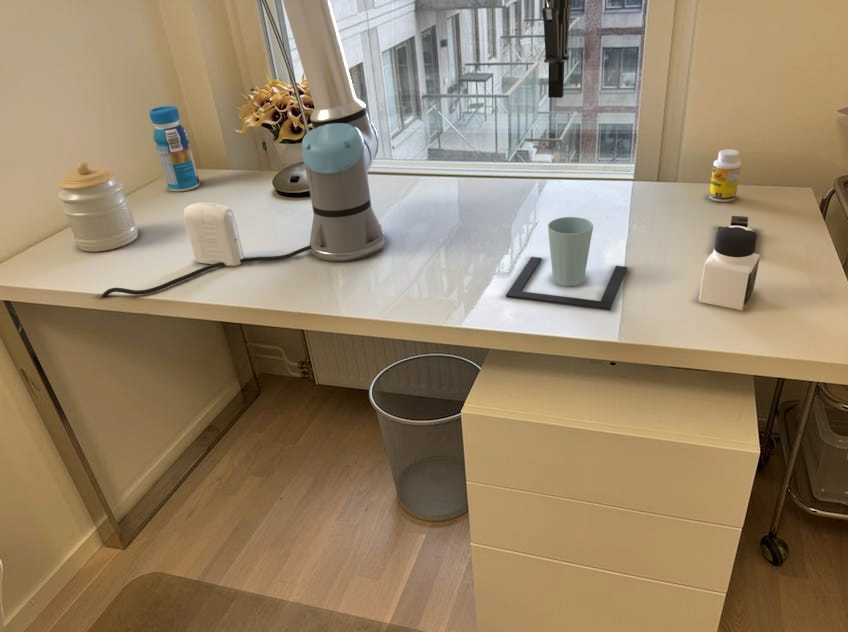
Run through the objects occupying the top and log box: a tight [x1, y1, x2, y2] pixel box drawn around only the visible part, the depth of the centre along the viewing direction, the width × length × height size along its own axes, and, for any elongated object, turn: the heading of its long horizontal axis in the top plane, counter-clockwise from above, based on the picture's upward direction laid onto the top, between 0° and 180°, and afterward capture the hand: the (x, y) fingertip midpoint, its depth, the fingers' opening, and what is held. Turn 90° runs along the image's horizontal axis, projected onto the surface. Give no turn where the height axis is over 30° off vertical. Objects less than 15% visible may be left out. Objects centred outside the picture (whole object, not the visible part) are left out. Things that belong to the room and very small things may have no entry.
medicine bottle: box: [698, 225, 761, 311], centre depth 113 cm, size 7×7×12 cm
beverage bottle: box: [148, 105, 201, 193], centre depth 179 cm, size 8×8×20 cm
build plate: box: [717, 215, 757, 254], centre depth 133 cm, size 12×7×5 cm, turn 159°
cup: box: [547, 216, 594, 287], centre depth 123 cm, size 8×8×10 cm
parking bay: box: [505, 256, 628, 311], centre depth 124 cm, size 16×18×1 cm
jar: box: [57, 161, 139, 252], centre depth 151 cm, size 13×13×18 cm
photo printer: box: [183, 202, 245, 267], centre depth 139 cm, size 10×4×12 cm, turn 73°
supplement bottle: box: [708, 148, 742, 203], centre depth 150 cm, size 6×6×10 cm
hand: (555, 96), depth 139 cm, fingers closed
